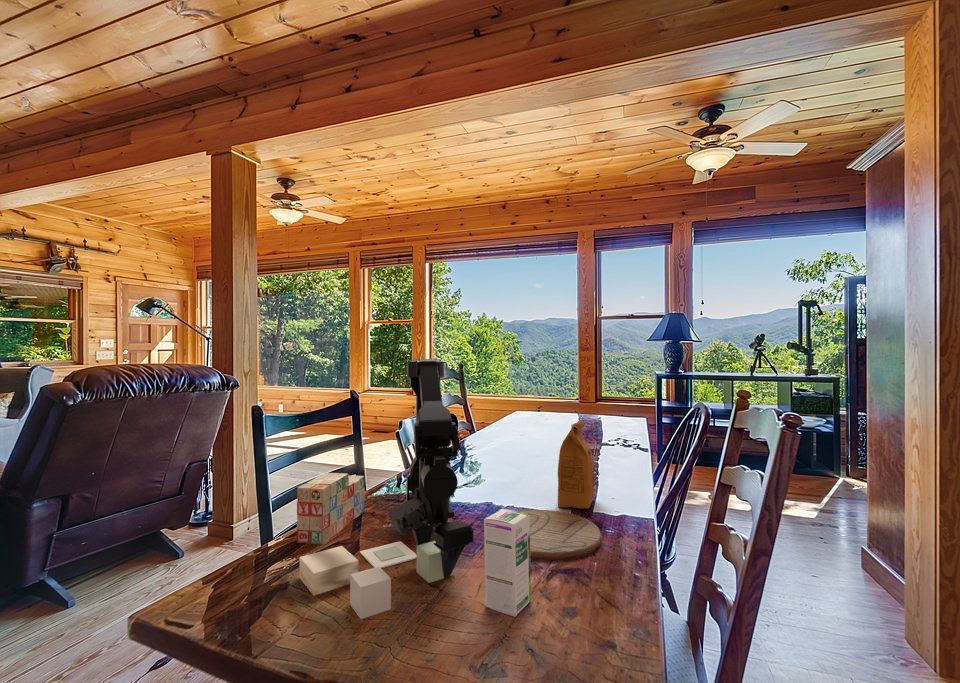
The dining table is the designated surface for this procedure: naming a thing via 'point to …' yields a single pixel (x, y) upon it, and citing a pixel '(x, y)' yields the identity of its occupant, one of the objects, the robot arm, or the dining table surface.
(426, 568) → the sage block
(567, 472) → the coffee package
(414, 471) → the robot arm
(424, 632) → the dining table surface
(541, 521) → the trivet
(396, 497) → the dining table surface
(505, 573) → the syrup box
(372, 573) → the grey block
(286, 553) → the dining table surface
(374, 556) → the card
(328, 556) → the birch base block
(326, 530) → the stack of blocks
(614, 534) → the dining table surface
